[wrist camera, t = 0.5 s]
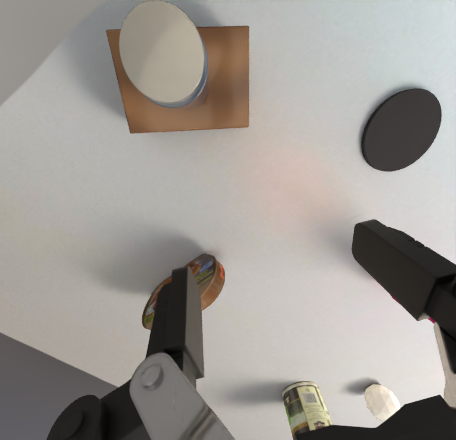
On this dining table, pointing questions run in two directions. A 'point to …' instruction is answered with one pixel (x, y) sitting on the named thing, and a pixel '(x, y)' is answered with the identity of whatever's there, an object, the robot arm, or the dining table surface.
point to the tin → (206, 280)
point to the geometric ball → (381, 402)
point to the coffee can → (305, 408)
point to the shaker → (164, 55)
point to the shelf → (217, 93)
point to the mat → (401, 129)
